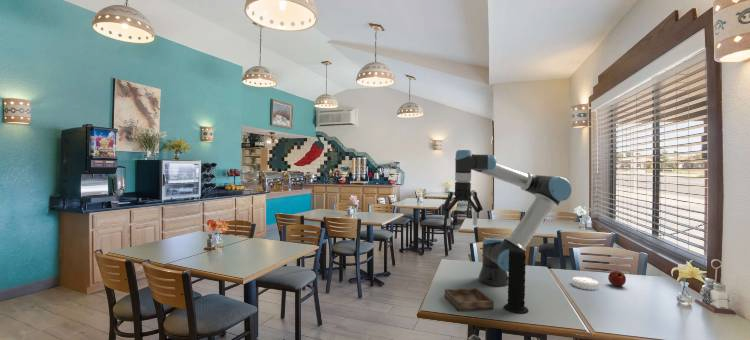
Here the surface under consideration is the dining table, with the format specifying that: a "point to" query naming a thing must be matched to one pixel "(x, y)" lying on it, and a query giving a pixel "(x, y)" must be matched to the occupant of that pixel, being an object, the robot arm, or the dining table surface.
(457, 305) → the tray
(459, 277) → the dining table surface
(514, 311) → the handle grip
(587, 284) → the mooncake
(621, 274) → the apple
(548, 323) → the dining table surface
